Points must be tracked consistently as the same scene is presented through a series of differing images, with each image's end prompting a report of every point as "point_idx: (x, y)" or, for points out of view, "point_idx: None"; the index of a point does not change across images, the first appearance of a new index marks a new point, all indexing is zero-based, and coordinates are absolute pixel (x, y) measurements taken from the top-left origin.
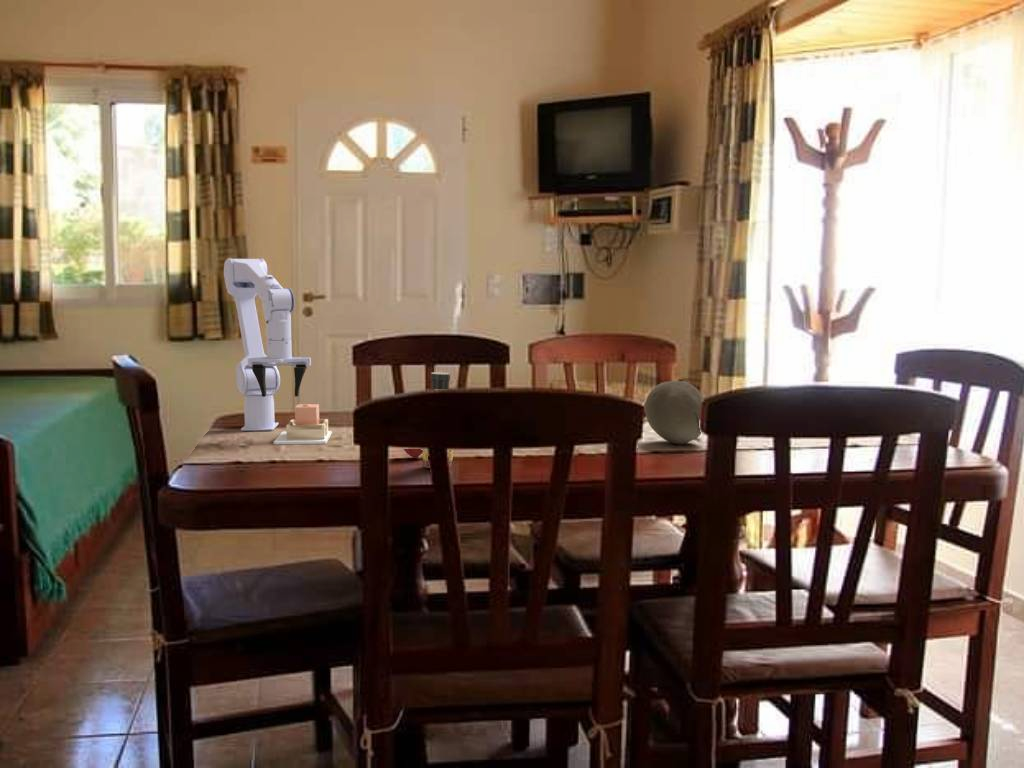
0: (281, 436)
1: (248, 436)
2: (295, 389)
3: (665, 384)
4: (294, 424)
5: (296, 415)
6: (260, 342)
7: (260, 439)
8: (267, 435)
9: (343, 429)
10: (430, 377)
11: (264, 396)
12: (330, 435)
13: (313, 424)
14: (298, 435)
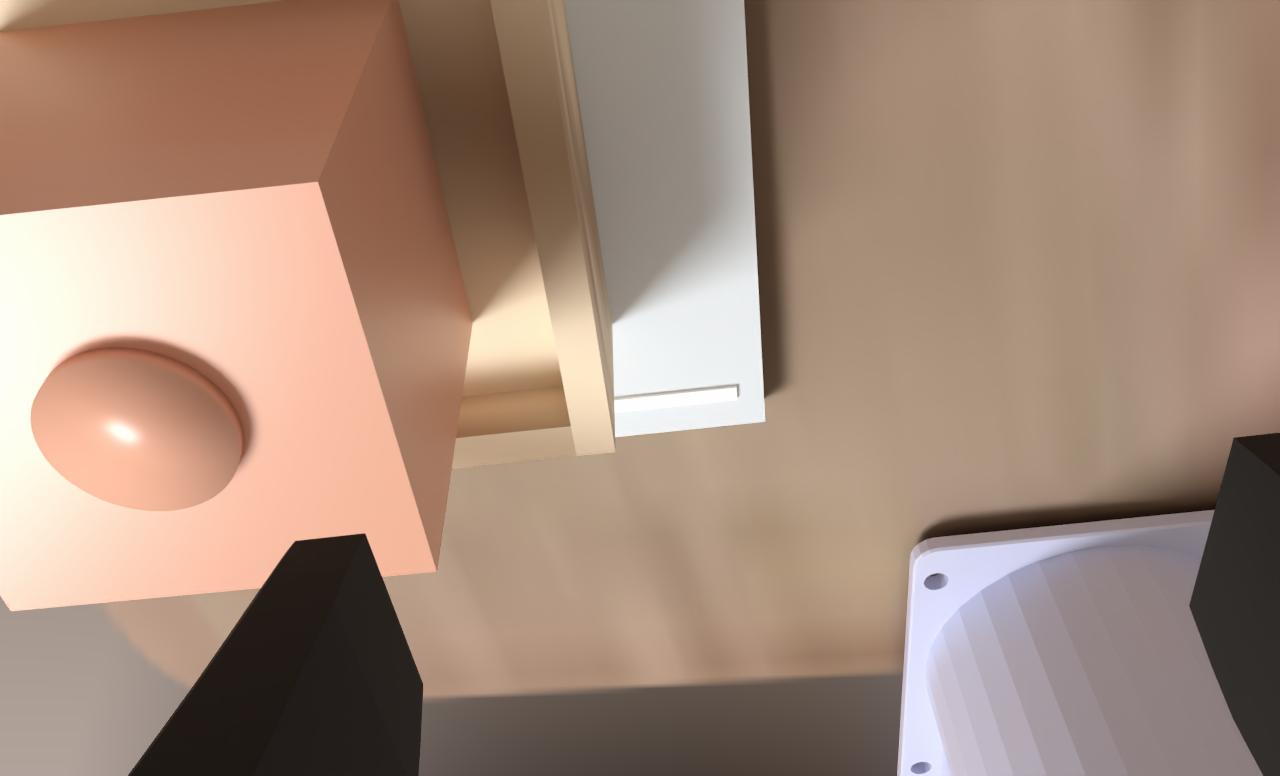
0: (698, 71)
1: (1199, 220)
2: (272, 682)
3: None
4: (544, 337)
5: (326, 97)
6: None
7: (1016, 7)
8: (944, 299)
9: (143, 651)
10: None
11: (1250, 437)
12: None
13: (25, 49)
14: None
